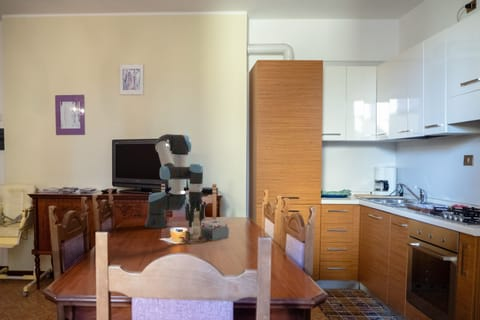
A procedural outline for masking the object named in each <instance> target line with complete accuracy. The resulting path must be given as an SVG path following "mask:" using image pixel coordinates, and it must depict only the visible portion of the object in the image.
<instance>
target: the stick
mask: <svg viewBox="0 0 480 320" xmlns="http://www.w3.org/2000/svg"><path fill="white" fill-rule="evenodd" d="M192 221H193V222H194V227H193V233H190V239H191V240H193V241H194V240H199V237H200V232H199V211H196V210H194V215H193V220H192Z"/></svg>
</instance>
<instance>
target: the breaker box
mask: <svg viewBox="0 0 480 320" xmlns="http://www.w3.org/2000/svg"><path fill="white" fill-rule="evenodd" d="M229 223H230V222H228V221H224V220H220V219H217V218H216V219H209V220H202V221H201V226H200V234H199V237H202V238H205V239H206V240H209V241H212V242H214V241H218V240H225V239H229V236H230V235H229V232H230V230H229V227H228V225H229ZM215 225H218V228H214V226H215Z"/></svg>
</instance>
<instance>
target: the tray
mask: <svg viewBox="0 0 480 320" xmlns="http://www.w3.org/2000/svg"><path fill="white" fill-rule="evenodd" d="M182 242H185V243H187V244H190V245H196V244H202V243H203V244H204V243H206V242H207V239H206V238H203V237H200V236H199V240H194V241H193V240H191V239H190V237H185V238H182Z"/></svg>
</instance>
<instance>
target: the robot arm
mask: <svg viewBox="0 0 480 320" xmlns="http://www.w3.org/2000/svg"><path fill="white" fill-rule="evenodd" d="M154 148H155V151H156V152H157V153H158V157H159V161H160V165H161V167H160V168H159V177H160V179H161V180H165V181H166V180H171V189H170V190H169V191H168V194H167V193H166V192H165V191H162V192H161V191H160V192H154V193H150V194H149V195H148V201H147V202H148V207H147V208H148V211H147V218H146V221H145V222H144V225H145V226H144V227H145V228H147V229H165V228H167V227H168V226H169V225H168V219H167V216H166V212H172V211H173V212H174V211H176V212H177V211H178V212H179V211H184V212H185V213H184V214H185V220H186V221H188V228H189V231H190V233H193V227H194V222H193V221H192V220H193V215H194V211H199V233H201V226H202V223H201V221H203V220H204V219H205V211H206V210H205V209H206V204H207V202H206V201H203V199H202V198H203V192H202V191H203V182H204V181H203V177H204V175H203V174H204V165H203V163H191V164H189V166H186V162H187V161H186V159H187V156H189V153H191V152H192V142H191V137H190V136H188V135H185V134H172V133H171V134H169V133H167V134H166V133H165V134H162V135H161V136H160V137H158V138H157V139H156V141H155V143H154ZM185 180H188V194H187V193H186V191H185V190H184V189H185Z"/></svg>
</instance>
